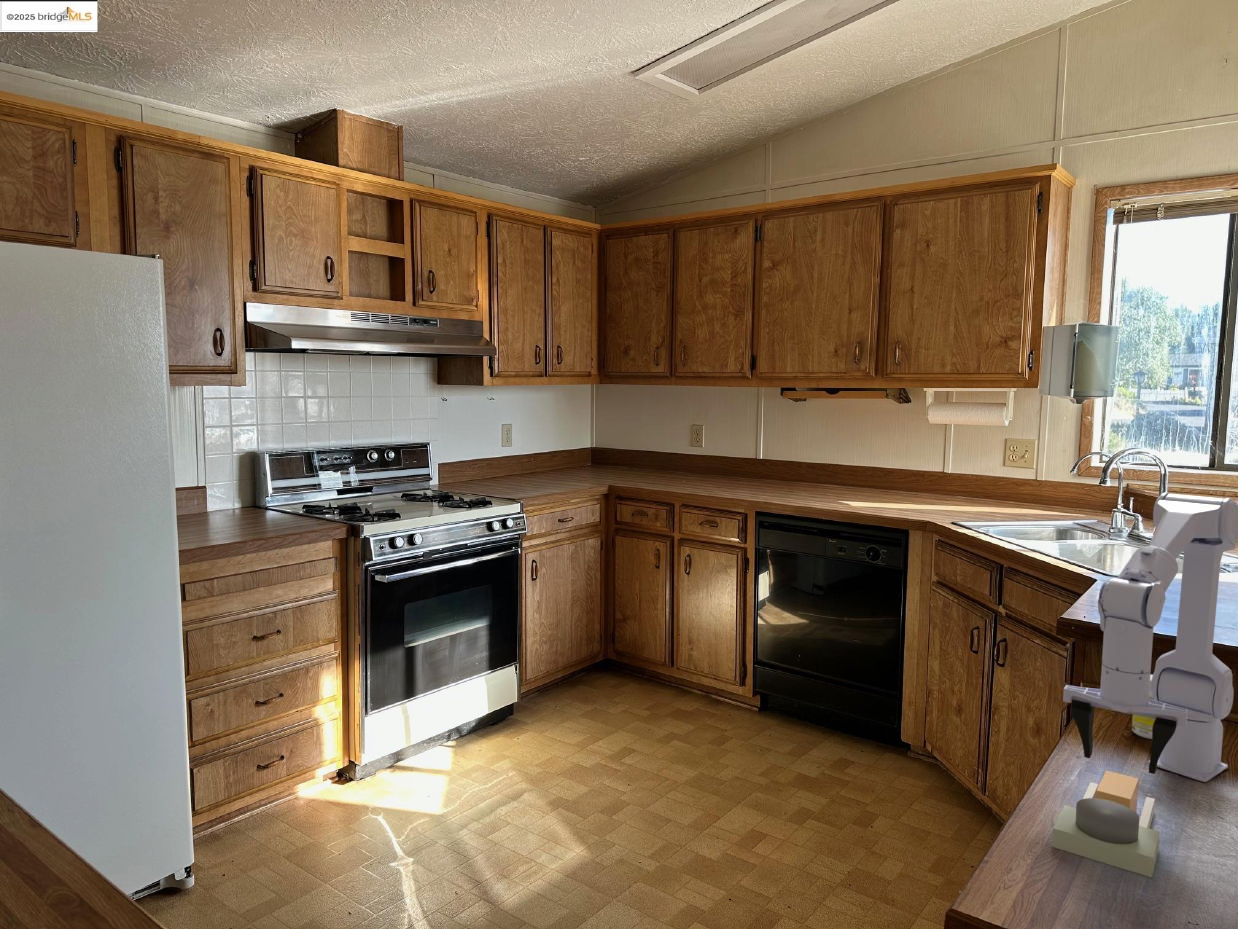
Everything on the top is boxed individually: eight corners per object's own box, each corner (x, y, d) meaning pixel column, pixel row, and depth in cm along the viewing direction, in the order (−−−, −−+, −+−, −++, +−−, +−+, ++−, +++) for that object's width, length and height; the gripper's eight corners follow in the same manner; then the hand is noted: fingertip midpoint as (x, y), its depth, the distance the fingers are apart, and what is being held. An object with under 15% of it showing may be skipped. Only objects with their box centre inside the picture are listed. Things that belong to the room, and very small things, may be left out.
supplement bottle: (1160, 744, 142) (1164, 685, 141) (1125, 732, 146) (1129, 676, 146) (1175, 737, 145) (1179, 679, 144) (1141, 726, 149) (1144, 670, 149)
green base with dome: (1078, 792, 123) (1080, 759, 123) (1166, 816, 117) (1169, 781, 116) (1051, 846, 108) (1054, 809, 108) (1152, 877, 101) (1154, 838, 101)
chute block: (1104, 804, 120) (1106, 770, 120) (1136, 813, 118) (1138, 778, 117) (1094, 825, 114) (1096, 790, 114) (1128, 835, 111) (1130, 799, 111)
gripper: (1061, 663, 115) (1055, 758, 116) (1187, 686, 106) (1180, 789, 107) (1070, 651, 121) (1065, 742, 122) (1191, 672, 112) (1184, 770, 113)
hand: (1119, 763), depth 115 cm, fingers open, 7 cm apart
